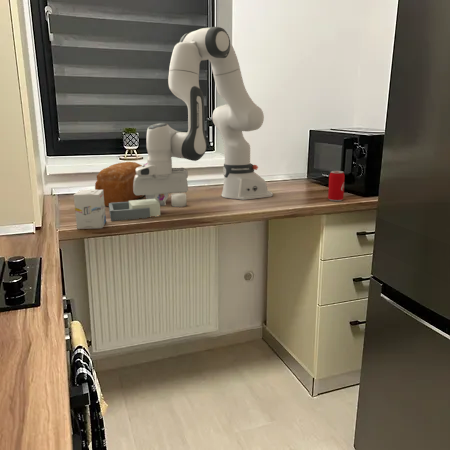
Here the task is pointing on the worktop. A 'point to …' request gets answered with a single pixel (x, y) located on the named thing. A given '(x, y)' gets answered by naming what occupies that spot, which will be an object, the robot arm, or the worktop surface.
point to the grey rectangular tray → (126, 211)
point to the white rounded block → (178, 199)
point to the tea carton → (146, 205)
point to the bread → (117, 182)
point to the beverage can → (336, 186)
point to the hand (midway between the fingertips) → (161, 205)
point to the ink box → (89, 209)
